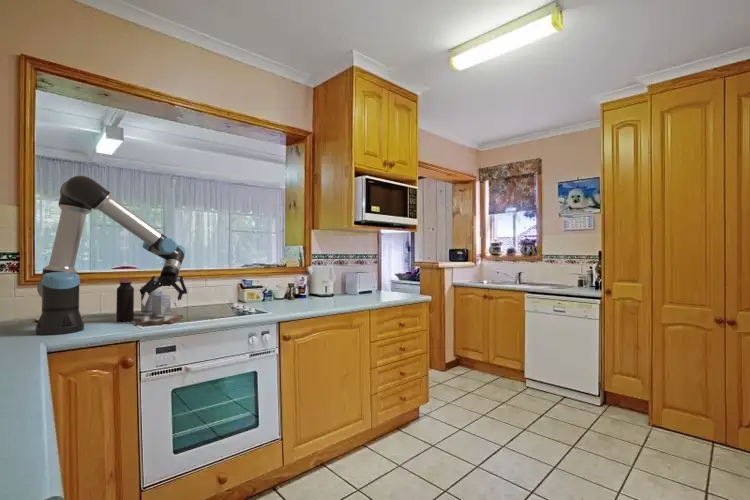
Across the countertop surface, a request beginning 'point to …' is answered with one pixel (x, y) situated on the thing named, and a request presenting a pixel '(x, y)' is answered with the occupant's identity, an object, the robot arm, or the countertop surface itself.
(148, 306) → the supplement tub
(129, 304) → the bottle
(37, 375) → the countertop surface
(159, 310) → the medicine box
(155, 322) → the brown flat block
